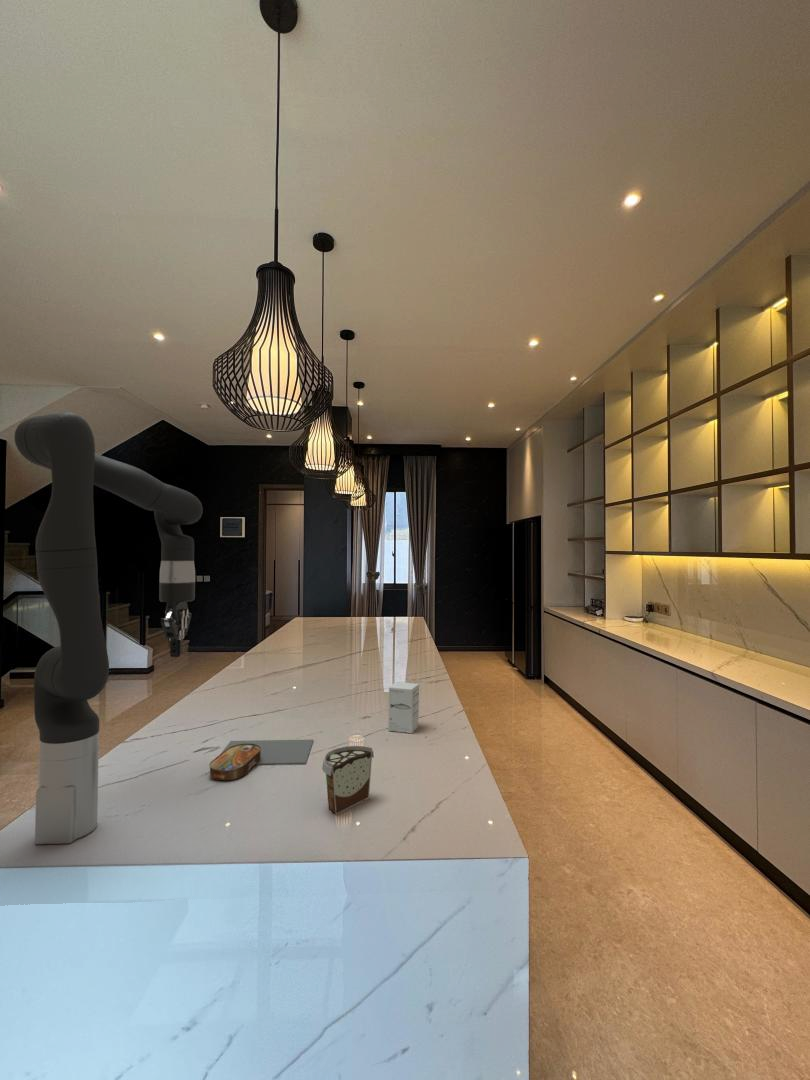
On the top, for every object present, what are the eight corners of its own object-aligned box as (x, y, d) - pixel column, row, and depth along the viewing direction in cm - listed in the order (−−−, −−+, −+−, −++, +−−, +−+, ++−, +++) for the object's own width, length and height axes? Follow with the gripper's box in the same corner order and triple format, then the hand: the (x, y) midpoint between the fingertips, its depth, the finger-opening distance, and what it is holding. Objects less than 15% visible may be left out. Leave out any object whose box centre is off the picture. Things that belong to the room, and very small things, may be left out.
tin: (236, 771, 116) (201, 765, 118) (235, 786, 117) (200, 779, 118) (267, 744, 131) (236, 739, 133) (266, 757, 131) (235, 751, 133)
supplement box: (387, 731, 151) (387, 687, 152) (395, 723, 158) (395, 681, 159) (412, 734, 149) (412, 688, 149) (419, 726, 156) (419, 682, 156)
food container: (352, 787, 115) (353, 740, 115) (373, 795, 111) (374, 747, 111) (308, 808, 105) (309, 757, 105) (330, 818, 101) (330, 765, 101)
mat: (305, 764, 127) (305, 762, 127) (212, 765, 126) (212, 764, 126) (313, 740, 143) (313, 739, 143) (230, 742, 142) (230, 740, 142)
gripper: (183, 582, 116) (182, 661, 115) (203, 579, 129) (202, 651, 128) (148, 582, 115) (147, 662, 115) (171, 579, 128) (170, 651, 128)
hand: (176, 656), depth 121 cm, fingers closed
